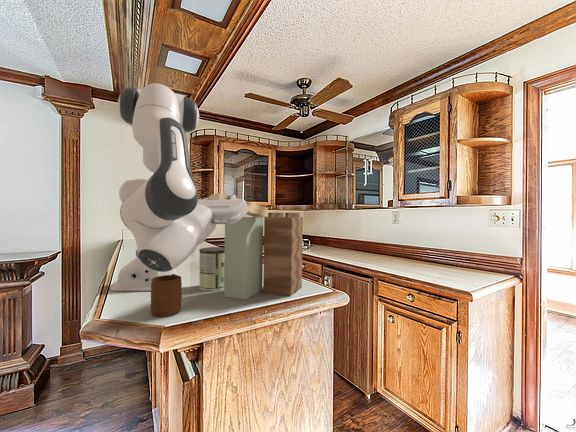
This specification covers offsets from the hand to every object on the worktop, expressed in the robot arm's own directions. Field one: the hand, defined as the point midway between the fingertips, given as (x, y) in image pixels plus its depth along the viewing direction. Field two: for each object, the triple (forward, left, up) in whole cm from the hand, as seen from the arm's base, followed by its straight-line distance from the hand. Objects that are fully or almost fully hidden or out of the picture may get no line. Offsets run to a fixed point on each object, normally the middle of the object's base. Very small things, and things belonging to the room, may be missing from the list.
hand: (224, 197), depth 81 cm
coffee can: (-3, +22, -32) cm, 39 cm away
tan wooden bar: (+5, +3, -4) cm, 7 cm away
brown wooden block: (+21, +13, -32) cm, 41 cm away
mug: (-15, 0, -32) cm, 35 cm away
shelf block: (+7, +12, -32) cm, 35 cm away
